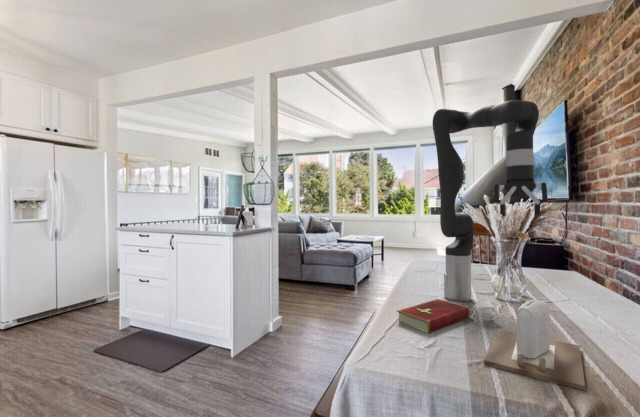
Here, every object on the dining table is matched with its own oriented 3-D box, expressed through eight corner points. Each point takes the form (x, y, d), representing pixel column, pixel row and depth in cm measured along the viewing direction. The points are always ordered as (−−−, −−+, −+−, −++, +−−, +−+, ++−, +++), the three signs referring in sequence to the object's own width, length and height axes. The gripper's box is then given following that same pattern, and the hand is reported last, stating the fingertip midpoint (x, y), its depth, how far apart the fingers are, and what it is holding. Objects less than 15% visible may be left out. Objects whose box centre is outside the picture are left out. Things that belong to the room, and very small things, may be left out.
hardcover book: (469, 319, 103) (469, 306, 103) (428, 335, 91) (428, 320, 91) (437, 309, 113) (437, 297, 113) (397, 322, 101) (396, 309, 101)
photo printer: (533, 343, 82) (532, 295, 82) (552, 349, 78) (552, 299, 78) (513, 354, 76) (513, 302, 76) (534, 361, 72) (533, 307, 72)
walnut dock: (483, 364, 74) (483, 349, 74) (498, 332, 91) (498, 320, 91) (584, 390, 63) (584, 373, 63) (579, 349, 80) (579, 335, 80)
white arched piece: (499, 328, 95) (499, 311, 95) (468, 322, 100) (468, 306, 100) (503, 316, 105) (503, 301, 105) (475, 311, 110) (475, 297, 110)
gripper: (492, 165, 101) (492, 216, 101) (547, 162, 92) (547, 217, 93) (496, 167, 107) (496, 215, 107) (548, 164, 98) (548, 216, 99)
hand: (519, 216), depth 100 cm, fingers open, 8 cm apart
